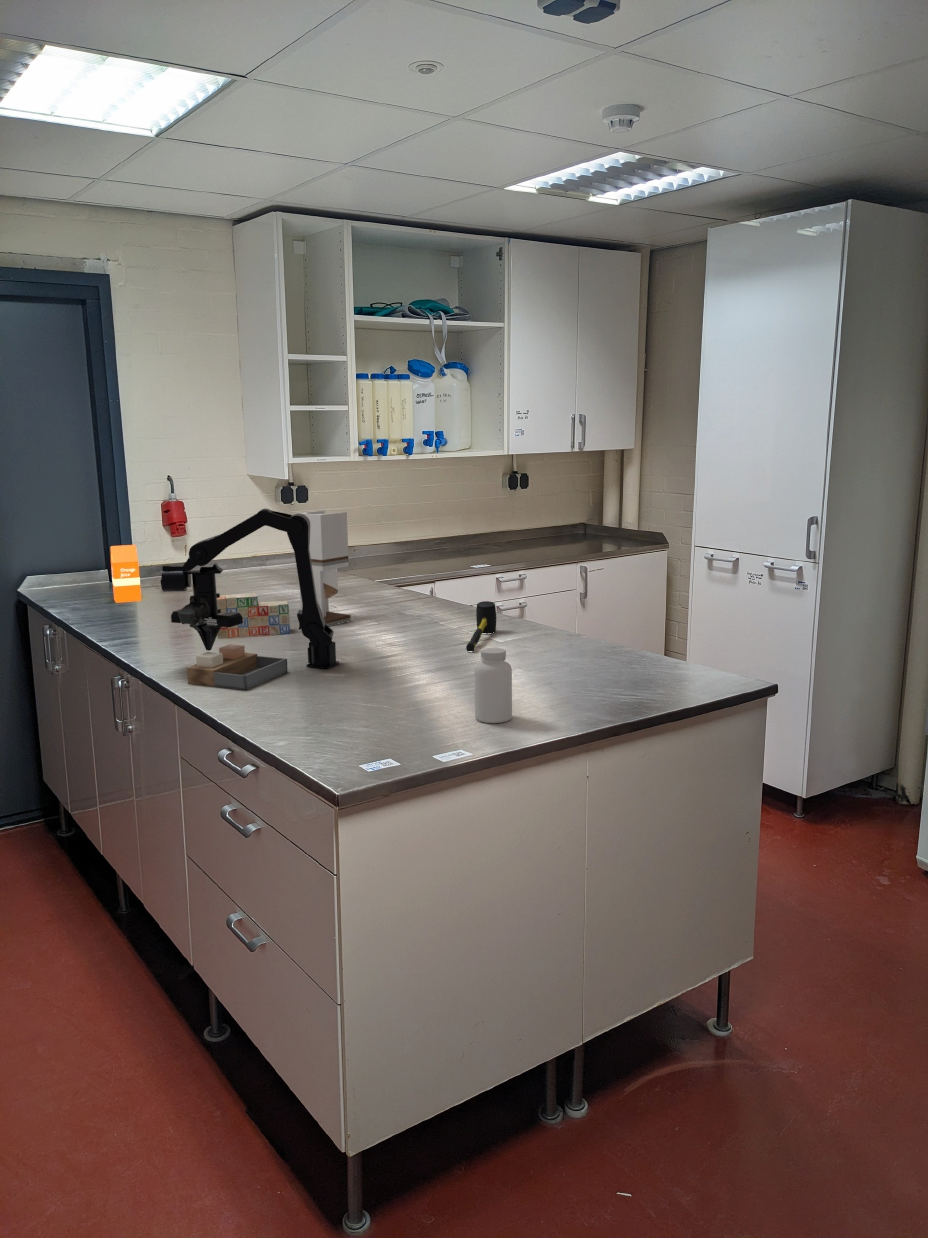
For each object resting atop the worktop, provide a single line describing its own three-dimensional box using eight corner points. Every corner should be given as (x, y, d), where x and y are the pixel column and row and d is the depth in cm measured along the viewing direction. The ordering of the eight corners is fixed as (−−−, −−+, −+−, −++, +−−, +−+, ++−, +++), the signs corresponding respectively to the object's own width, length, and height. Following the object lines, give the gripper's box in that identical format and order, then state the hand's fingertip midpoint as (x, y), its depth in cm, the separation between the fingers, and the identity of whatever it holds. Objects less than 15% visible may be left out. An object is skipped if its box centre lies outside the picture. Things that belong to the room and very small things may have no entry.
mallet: (481, 654, 259) (480, 620, 257) (459, 653, 260) (459, 619, 258) (498, 631, 287) (498, 600, 285) (478, 630, 288) (478, 599, 286)
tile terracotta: (244, 655, 243) (244, 645, 242) (234, 659, 239) (233, 649, 238) (230, 653, 244) (229, 644, 244) (219, 657, 240) (219, 648, 240)
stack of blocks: (288, 630, 291) (286, 590, 289) (290, 634, 285) (288, 594, 283) (216, 635, 286) (214, 594, 283) (217, 639, 280) (214, 598, 277)
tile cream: (223, 663, 235) (222, 653, 234) (211, 667, 231) (211, 657, 230) (208, 661, 236) (207, 652, 236) (196, 665, 232) (196, 656, 232)
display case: (325, 627, 294) (320, 514, 287) (301, 623, 300) (296, 513, 293) (350, 621, 303) (346, 511, 296) (327, 617, 309) (322, 510, 302)
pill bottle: (510, 712, 206) (510, 645, 203) (513, 724, 198) (513, 654, 195) (474, 713, 206) (473, 646, 203) (475, 724, 198) (475, 655, 195)
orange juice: (113, 599, 345) (109, 545, 341) (139, 597, 349) (134, 543, 345) (115, 602, 338) (111, 547, 334) (141, 600, 342) (137, 545, 338)
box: (287, 672, 241) (286, 658, 241) (245, 690, 225) (244, 676, 224) (258, 668, 245) (257, 655, 244) (214, 686, 228) (213, 672, 228)
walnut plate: (258, 668, 245) (257, 653, 244) (214, 686, 228) (213, 670, 228) (232, 666, 248) (231, 651, 247) (187, 683, 232) (186, 667, 231)
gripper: (154, 594, 237) (158, 654, 240) (214, 598, 230) (219, 660, 233) (183, 586, 247) (187, 644, 251) (242, 590, 240) (245, 650, 243)
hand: (208, 650), depth 244 cm, fingers closed
